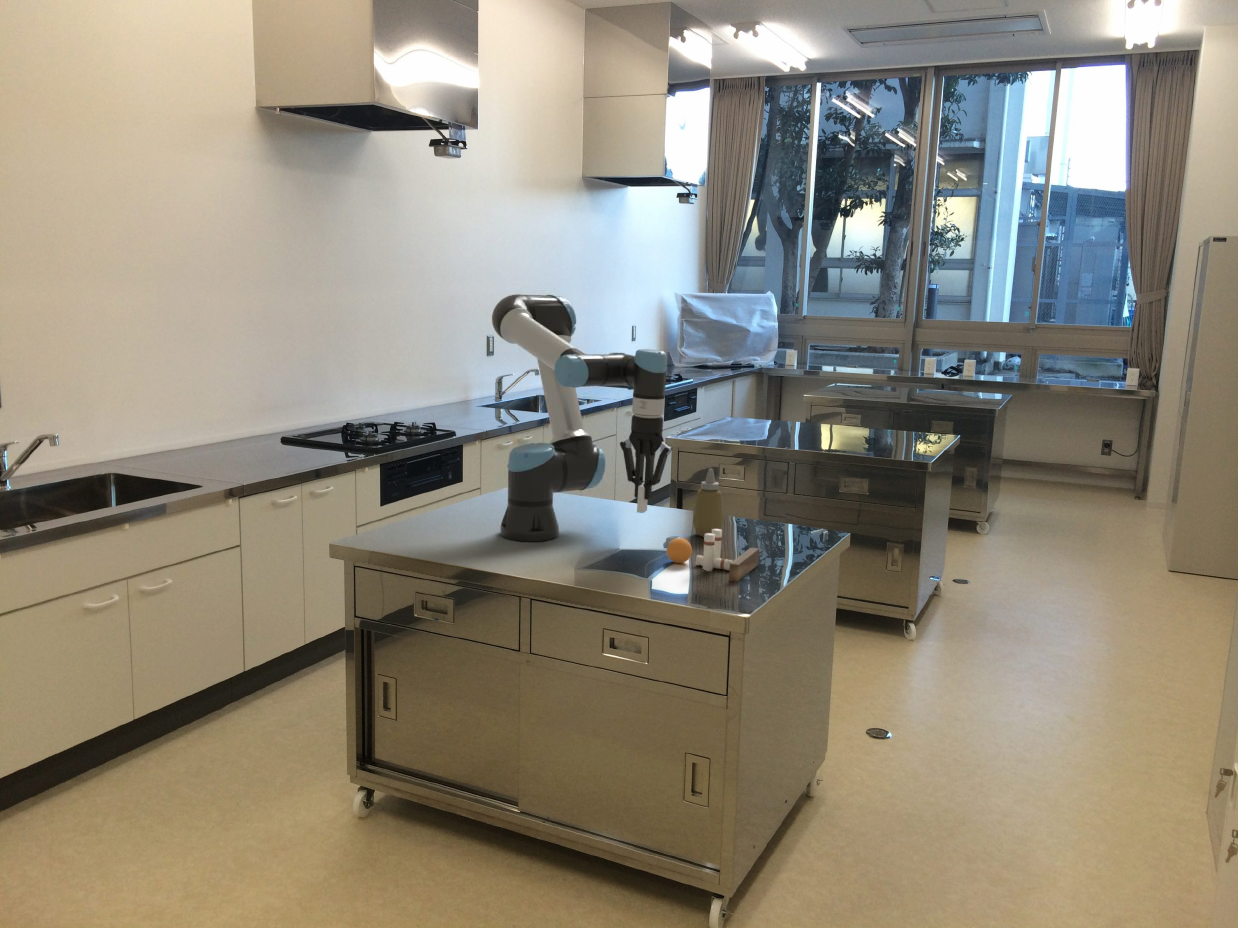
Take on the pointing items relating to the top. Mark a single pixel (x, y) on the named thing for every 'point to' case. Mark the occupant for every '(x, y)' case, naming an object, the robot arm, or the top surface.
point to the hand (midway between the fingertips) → (641, 511)
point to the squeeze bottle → (708, 506)
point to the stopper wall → (743, 564)
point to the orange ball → (679, 550)
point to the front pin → (715, 562)
